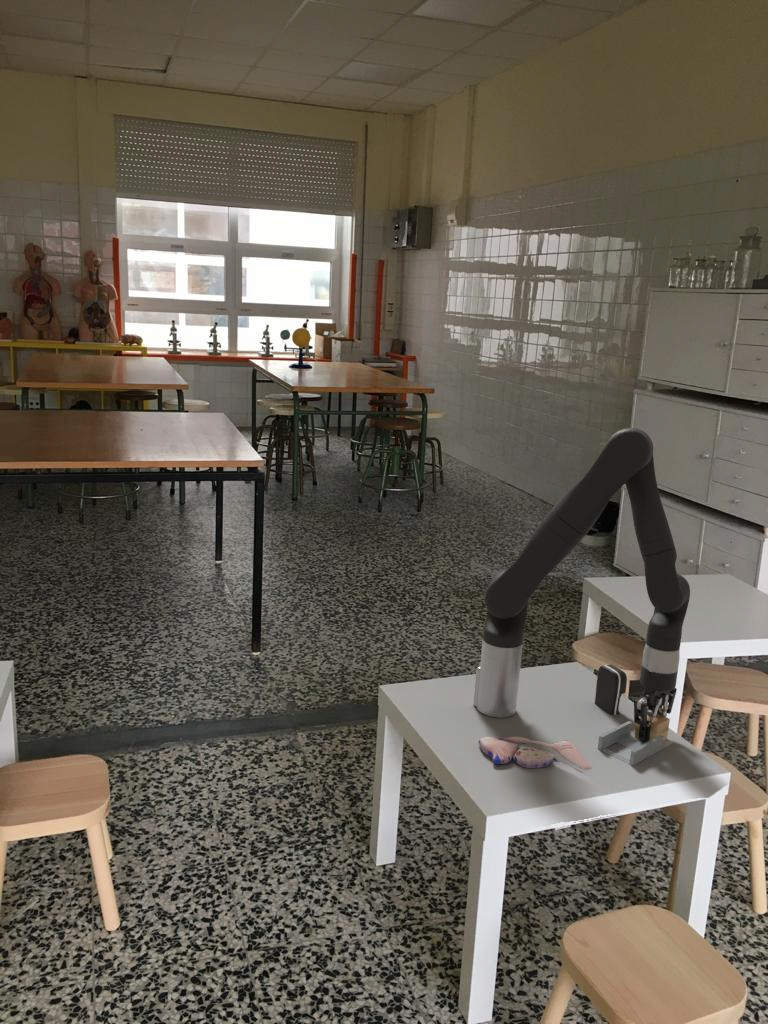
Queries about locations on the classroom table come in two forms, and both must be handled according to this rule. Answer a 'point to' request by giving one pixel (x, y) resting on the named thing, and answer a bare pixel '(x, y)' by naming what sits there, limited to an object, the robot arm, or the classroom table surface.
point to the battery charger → (610, 688)
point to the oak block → (656, 727)
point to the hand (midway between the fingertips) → (650, 736)
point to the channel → (631, 743)
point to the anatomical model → (530, 752)
